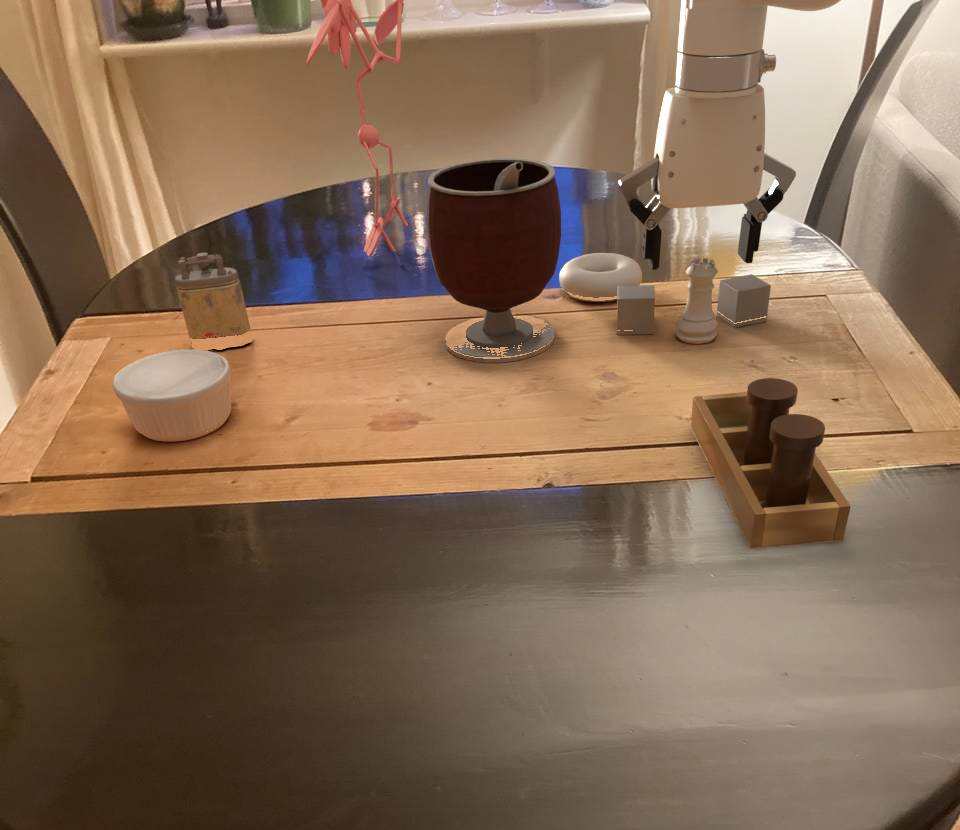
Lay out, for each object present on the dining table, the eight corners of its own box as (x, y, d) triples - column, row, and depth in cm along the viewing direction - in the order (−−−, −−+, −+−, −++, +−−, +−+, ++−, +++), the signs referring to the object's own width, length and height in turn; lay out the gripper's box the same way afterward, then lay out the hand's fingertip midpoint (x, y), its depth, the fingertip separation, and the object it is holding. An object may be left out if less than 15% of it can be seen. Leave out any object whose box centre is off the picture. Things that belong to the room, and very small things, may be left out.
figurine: (435, 224, 141) (409, -71, 118) (394, 287, 121) (354, -51, 99) (335, 225, 143) (292, -63, 121) (280, 288, 124) (215, -42, 101)
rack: (766, 426, 87) (772, 389, 85) (842, 546, 72) (851, 505, 70) (689, 432, 87) (693, 396, 85) (749, 554, 72) (754, 514, 70)
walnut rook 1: (776, 464, 81) (790, 375, 76) (791, 488, 78) (806, 397, 73) (729, 468, 81) (740, 379, 76) (742, 492, 78) (754, 401, 73)
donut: (639, 307, 111) (643, 275, 119) (640, 278, 109) (645, 247, 117) (554, 307, 113) (563, 276, 121) (554, 278, 111) (563, 248, 118)
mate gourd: (423, 329, 110) (403, 138, 97) (536, 308, 113) (531, 120, 100) (463, 381, 99) (446, 173, 86) (587, 356, 102) (589, 151, 89)
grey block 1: (652, 320, 108) (654, 284, 105) (653, 334, 105) (655, 298, 102) (616, 321, 109) (617, 285, 106) (616, 334, 105) (617, 299, 103)
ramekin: (233, 443, 92) (220, 391, 88) (116, 453, 91) (99, 402, 88) (247, 392, 100) (235, 343, 97) (140, 401, 100) (125, 353, 97)
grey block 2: (747, 309, 109) (751, 273, 106) (766, 321, 106) (771, 285, 103) (716, 315, 108) (719, 280, 105) (734, 328, 105) (738, 291, 102)
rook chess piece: (708, 326, 106) (715, 252, 100) (723, 342, 102) (731, 266, 97) (669, 331, 105) (674, 257, 100) (683, 347, 102) (689, 271, 97)
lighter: (254, 335, 112) (235, 247, 106) (253, 348, 109) (233, 258, 103) (193, 342, 112) (170, 255, 105) (190, 355, 109) (166, 266, 102)
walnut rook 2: (799, 502, 76) (816, 411, 71) (816, 530, 73) (834, 436, 68) (750, 507, 76) (762, 415, 71) (764, 534, 73) (778, 441, 68)
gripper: (797, 59, 91) (770, 244, 102) (616, 71, 90) (609, 255, 101) (824, 74, 85) (792, 269, 96) (631, 87, 85) (621, 280, 96)
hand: (698, 262), depth 99 cm, fingers open, 9 cm apart
